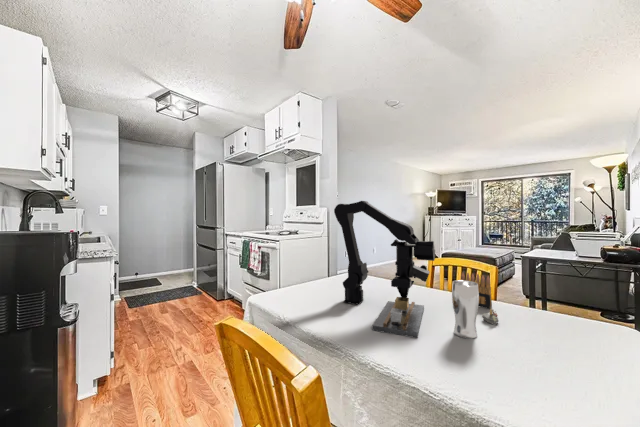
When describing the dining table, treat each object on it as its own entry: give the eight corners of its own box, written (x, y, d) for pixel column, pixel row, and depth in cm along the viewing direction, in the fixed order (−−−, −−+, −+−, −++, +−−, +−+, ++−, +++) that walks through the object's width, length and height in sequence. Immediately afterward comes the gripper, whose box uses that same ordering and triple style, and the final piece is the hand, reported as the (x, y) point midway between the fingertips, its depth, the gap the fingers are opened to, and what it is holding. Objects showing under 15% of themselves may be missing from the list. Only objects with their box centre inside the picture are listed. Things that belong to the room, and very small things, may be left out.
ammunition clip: (492, 307, 105) (491, 275, 104) (490, 308, 103) (490, 276, 103) (461, 301, 112) (461, 271, 112) (459, 302, 111) (459, 271, 111)
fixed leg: (390, 325, 86) (390, 311, 86) (392, 322, 89) (392, 308, 88) (400, 327, 85) (400, 312, 85) (402, 323, 87) (402, 309, 87)
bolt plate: (372, 330, 86) (372, 322, 86) (388, 305, 108) (388, 298, 108) (417, 337, 80) (417, 329, 80) (424, 309, 103) (424, 302, 103)
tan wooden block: (395, 309, 96) (395, 300, 96) (397, 306, 100) (396, 296, 100) (407, 311, 95) (407, 301, 95) (408, 307, 98) (408, 298, 98)
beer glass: (476, 330, 85) (476, 280, 84) (481, 341, 78) (481, 286, 78) (450, 327, 87) (450, 279, 87) (453, 337, 80) (453, 284, 80)
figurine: (478, 318, 94) (480, 301, 93) (491, 318, 94) (493, 301, 93) (488, 327, 88) (491, 309, 88) (502, 327, 89) (505, 309, 88)
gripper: (425, 264, 91) (425, 312, 92) (430, 256, 108) (430, 296, 108) (390, 262, 96) (391, 308, 96) (400, 254, 113) (400, 293, 113)
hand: (404, 301), depth 103 cm, fingers closed
